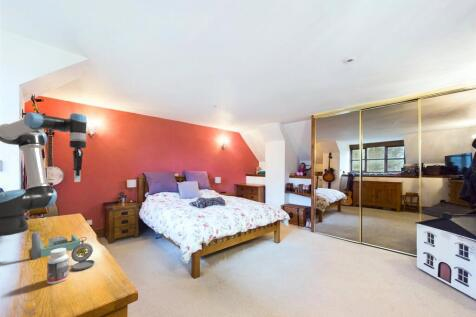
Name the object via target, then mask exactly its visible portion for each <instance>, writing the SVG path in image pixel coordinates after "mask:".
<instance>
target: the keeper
mask: <svg viewBox="0 0 476 317" xmlns="http://www.w3.org/2000/svg"><path fill="white" fill-rule="evenodd" d="M78 239H79V238H78V237H77V235H76V234H75V233H71V240H70V241H71V242H67V243H65V244H60V245H56V246H51V247H49V246H47V247H44V244H43V241H42V240H41V232H39V231H38V230H35V231H33V233H32V234H31V260H37V259H39V258H43V257H48V256H50V252H51V251H52V250H54V249H58V248H66V252H68V251H73V249H74V248H75V247H76V246H78V245H79V244H81V242H79V241H81V240H80V239H79V241H78Z"/></svg>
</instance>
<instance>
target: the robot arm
mask: <svg viewBox="0 0 476 317" xmlns="http://www.w3.org/2000/svg"><path fill="white" fill-rule="evenodd" d="M69 115H70V116H69V118H64V117H57V116H52V115H47V114H42V113H37V112H26V114H25V115H24V117H23V119H20V120H16V121H13V122H11V123H3V124H0V142H2V143H3V144H7V145H14V146H18V149H19V150H20V151H22V154H23V159H24V160H23V161H24V165H25V172H26V174H25V175H26V179H27V185H28V187H27V188H25V189H24V188H23V189H21V188H20V189H19V188H18V189H11V190H6V191H2V192H0V237H1V236H2V235H3V236H9V235H15V234H19V233H23V232H25V231H28V230H29V223H28V220H27V219H26V216H25V213H26V212H27V211H33V210H34V211H35V210H40V209H45V208H50V207H52V206H53V205H54V204H55V203H56V201H57V198H58V193H57V191H56V189H54V188H52V187H51V184H49V183H48V182H47V176H46V171H45V165H44V159H43V153H42V150H43V149H44V147H45V146H46V145H47V141H48V136H47V134H46V133H45V131H44V130H50V131H51V130H52V131H57V132H61V133H69V134H68V137H69V148H71V149H72V148H73V149H74V150H73V151H72V156H73V157H72V160H73V163H72V164H73V168H72V170H73V182H74V183H80V182H81V171H82V168H83V167H82V164H83V155H84V153H83V150H82V149H86V148H87V123H88V122H87V115H85V114H82V113H74V112H73V113H71V114H69Z"/></svg>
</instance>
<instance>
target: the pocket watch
mask: <svg viewBox="0 0 476 317" xmlns="http://www.w3.org/2000/svg"><path fill="white" fill-rule="evenodd" d="M82 238H85V239H82ZM80 239H81V240H80ZM79 240H80V241H79ZM78 241H79V242H80V244H79V245H78V246H76V247H75V248H74V249H73V250H71V254H70V255H71V256H70V257H71V259H72V260H73V261H74V262H76V263H74V264H73V265H72V267H71V268H72V269H73V270H74V271H81V270H86V269H89V268H91V267H92V266H94V264H95V260H94V259H89V258H90V257H91V256H92V254H93V252H94V248H93V246H92V245H91V244H90V243H88V242H85V241H87V237H86V236H82V237H80V238H78ZM84 242H85V243H84Z"/></svg>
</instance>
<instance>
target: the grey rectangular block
mask: <svg viewBox="0 0 476 317" xmlns="http://www.w3.org/2000/svg"><path fill="white" fill-rule="evenodd" d="M65 243H68V238H67V237H65V236H64V235H60V236H55V237H52V238H48V247H51V246H56V245H60V244H65Z"/></svg>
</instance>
